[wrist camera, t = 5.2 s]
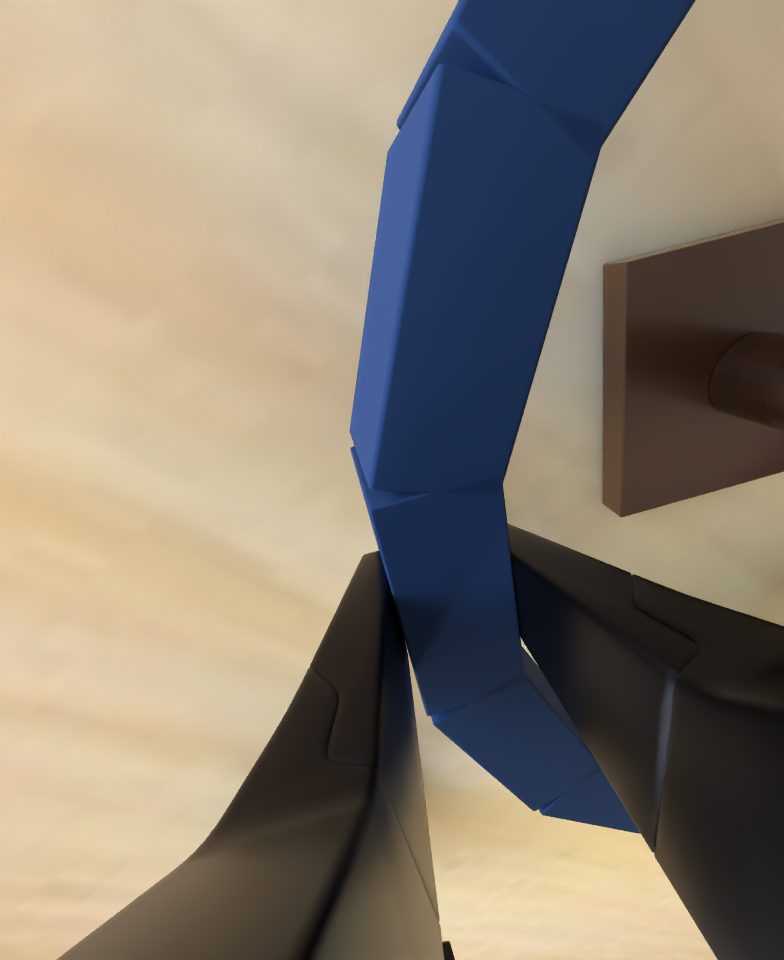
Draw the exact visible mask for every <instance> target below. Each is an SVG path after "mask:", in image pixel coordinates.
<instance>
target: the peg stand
mask: <svg viewBox="0 0 784 960" xmlns="http://www.w3.org/2000/svg"><path fill="white" fill-rule="evenodd" d="M780 472H784V219H780V220H776V221H772V222H768V223H764V224H760V225H756V226H752V227H748V228H744V229H740V230H736V231H732V232H728V233H724V234H720V235H716V236H712V237H709V238H705V239H701V240H697V241H693V242H689V243H685V244H681V245H677V246H673V247H669V248H665V249H661V250H657V251H653V252H649V253H645V254H641V255H637V256H634V257H630V258H626V259H622V260H618V261H614V262H610V263H606V264H604V266H603V504H604V505H605V506H607V507H608V508H609V509H611V510H612V511H613V512H615V513H616V514H617V515H618V516H620V517H625V516H628V515H632V514H635V513H639V512H642V511H646V510H649V509H653V508H657V507H660V506H664V505H667V504H671V503H674V502H678V501H681V500H685V499H688V498H692V497H695V496H699V495H703V494H706V493H710V492H713V491H717V490H720V489H724V488H727V487H731V486H734V485H738V484H741V483H745V482H748V481H752V480H756V479H759V478H763V477H766V476H770V475H773V474H777V473H780Z"/></svg>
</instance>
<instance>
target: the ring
mask: <svg viewBox="0 0 784 960" xmlns="http://www.w3.org/2000/svg"><path fill="white" fill-rule="evenodd" d="M694 2H695V0H459V1H458V3H457V5H456V7H455V9H454V11H453V13H452V15H451V17H450V19H449V21H448V23H447V25H446V27H445V29H444V31H443V32H442V34H441V36H440V38H439V40H438V42H437V44H436V46H435V48H434V50H433V52H432V54H431V56H430V58H429V60H428V62H427V64H426V66H425V68H424V69H423V71H422V73H421V75H420V77H419V79H418V81H417V83H416V85H415V87H414V89H413V91H412V93H411V95H410V97H409V99H408V101H407V103H406V104H405V106H404V108H403V110H402V112H401V114H400V116H399V118H398V120H397V126H398V128H399V129H400V131H399V133H398V135H397V137H396V138H395V140H394V142H393V144H392V145H391V147H390V149H389V151H388V154H387V161H386V169H385V176H384V183H383V191H382V198H381V205H380V213H379V220H378V227H377V235H376V242H375V249H374V257H373V264H372V271H371V279H370V286H369V293H368V301H367V308H366V315H365V323H364V330H363V337H362V345H361V352H360V359H359V367H358V374H357V381H356V389H355V396H354V403H353V411H352V418H351V425H350V433H351V436H352V439H353V442H354V445H355V446H353V447H351V453H352V456H353V460H354V463H355V467H356V471H357V474H358V478H359V481H360V485H361V488H362V492H363V495H364V499H365V502H366V506H367V509H368V513H369V516H370V520H371V523H372V527H373V530H374V534H375V537H376V541H377V544H378V548H379V551H380V554H381V557H382V561H383V564H384V567H385V571H386V574H387V578H388V581H389V585H390V588H391V592H392V595H393V599H394V602H395V606H396V610H397V613H398V617H399V620H400V624H401V627H402V631H403V634H404V638H405V642H406V646H407V649H408V653H409V656H410V659H411V663H412V666H413V670H414V673H415V677H416V680H417V684H418V687H419V690H420V694H421V697H422V701H423V704H424V708H425V711H426V714H427V716H431V717H432V721H433V724H434V725H435V726H436V727H437V728H438V729H439V730H440V731H441V732H442V733H444V734H445V735H446V736H447V737H448V738H449V739H451V740H452V741H453V742H454V743H455V744H456V745H458V746H459V747H460V748H461V749H462V750H463V751H464V752H466V753H467V754H468V755H469V756H470V757H471V758H473V759H474V760H475V761H476V762H477V763H478V764H480V765H481V766H482V767H483V768H484V769H485V770H486V771H488V772H489V773H490V774H491V775H492V776H493V777H495V778H496V779H497V780H498V781H499V782H500V783H502V784H503V785H504V786H505V787H506V788H507V789H509V790H510V791H511V792H512V793H513V794H514V795H515V796H517V797H518V798H519V799H520V800H521V801H522V802H524V803H525V804H526V805H527V806H528V807H529V808H531V809H532V810H533V811H536V810H538V809H539V810H540V813H541V814H542V815H545V816H550V817H555V818H561V819H566V820H571V821H576V822H582V823H587V824H592V825H597V826H602V827H608V828H613V829H618V830H623V831H629V832H634V833H639V834H641V833H640V831H639V830H638V828H637V826H636V825H635V823H634V821H633V820H632V818H631V817H630V815H629V813H628V812H627V810H626V808H625V807H624V805H623V803H622V802H621V800H620V799H619V797H618V795H617V794H616V792H615V790H614V789H613V787H612V785H611V784H610V782H609V781H608V779H607V777H606V776H605V774H604V772H603V771H602V769H601V768H600V766H599V764H598V763H597V761H596V759H595V758H594V756H593V754H592V753H591V751H590V750H589V748H588V746H587V745H586V743H585V741H584V740H583V738H582V736H581V735H580V733H579V732H578V730H577V728H576V727H575V725H574V723H573V722H572V720H571V718H570V717H569V715H568V714H567V712H566V710H565V709H564V707H563V705H562V704H561V702H560V701H559V699H558V697H557V696H556V694H555V692H554V691H553V689H552V687H551V686H550V684H549V683H548V681H547V679H546V678H545V676H544V674H543V673H542V671H541V669H540V668H539V667H538V665H537V664H536V663H535V662H534V661H533V659H532V658H531V657H530V656H529V654H528V653H527V652H526V651H525V649H524V648H523V647H522V646H521V639H520V631H519V622H518V613H517V604H516V596H515V587H514V578H513V570H512V561H511V552H510V543H509V534H508V526H507V517H506V508H505V499H504V491H503V481H504V477H505V474H506V471H507V467H508V464H509V460H510V457H511V454H512V450H513V447H514V443H515V440H516V436H517V433H518V430H519V426H520V423H521V419H522V416H523V413H524V409H525V406H526V402H527V399H528V395H529V392H530V389H531V385H532V382H533V378H534V375H535V371H536V368H537V365H538V361H539V358H540V354H541V351H542V348H543V344H544V341H545V337H546V334H547V330H548V327H549V324H550V320H551V317H552V313H553V310H554V307H555V303H556V300H557V296H558V293H559V289H560V286H561V283H562V279H563V276H564V272H565V269H566V266H567V262H568V259H569V255H570V252H571V248H572V245H573V242H574V238H575V235H576V231H577V228H578V225H579V221H580V218H581V214H582V211H583V207H584V204H585V201H586V197H587V194H588V190H589V187H590V184H591V180H592V177H593V173H594V170H595V166H596V163H597V160H598V156H599V153H600V149H601V147H602V145H603V143H604V142H605V140H606V139H607V137H608V136H609V134H610V133H611V131H612V129H613V128H614V126H615V125H616V123H617V122H618V120H619V119H620V117H621V115H622V114H623V112H624V111H625V109H626V108H627V106H628V105H629V103H630V101H631V100H632V98H633V97H634V95H635V94H636V92H637V91H638V89H639V87H640V86H641V84H642V83H643V81H644V80H645V78H646V77H647V75H648V73H649V72H650V70H651V69H652V67H653V66H654V64H655V63H656V61H657V59H658V58H659V56H660V55H661V53H662V52H663V50H664V49H665V47H666V45H667V44H668V42H669V41H670V39H671V38H672V36H673V35H674V33H675V31H676V30H677V28H678V27H679V25H680V24H681V22H682V21H683V19H684V17H685V16H686V14H687V13H688V11H689V10H690V8H691V7H692V5H693V3H694Z"/></svg>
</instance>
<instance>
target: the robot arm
mask: <svg viewBox="0 0 784 960" xmlns="http://www.w3.org/2000/svg"><path fill="white" fill-rule="evenodd" d="M507 526H508V534H509V543H510V552H511V561H512V570H513V578H514V587H515V596H516V604H517V613H518V622H519V631H520V637H521V638H522V640H523V642H524V643H525V645H526V647H527V648H528V650H529V651H530V653H531V655H532V656H533V658H534V660H535V661H536V663H537V665H538V666H539V668H540V669H541V671H542V673H543V674H544V676H545V678H546V679H547V681H548V683H549V684H550V686H551V687H552V689H553V691H554V692H555V694H556V696H557V697H558V699H559V701H560V702H561V704H562V705H563V707H564V709H565V710H566V712H567V714H568V715H569V717H570V718H571V720H572V722H573V723H574V725H575V727H576V728H577V730H578V732H579V733H580V735H581V736H582V738H583V740H584V741H585V743H586V745H587V746H588V748H589V750H590V751H591V753H592V754H593V756H594V758H595V759H596V761H597V763H598V764H599V766H600V768H601V769H602V771H603V772H604V774H605V776H606V777H607V779H608V781H609V782H610V784H611V785H612V787H613V789H614V790H615V792H616V794H617V795H618V797H619V799H620V800H621V802H622V803H623V805H624V807H625V808H626V810H627V812H628V813H629V815H630V817H631V818H632V820H633V821H634V823H635V825H636V826H637V828H638V830H639V831H640V833H641V835H642V836H643V838H644V839H645V841H646V843H647V844H648V846H649V848H650V849H651V851H652V852H654V853H655V854H654V855H655V858H656V859H657V861H658V863H659V864H660V866H661V868H662V869H663V871H664V873H665V874H666V876H667V877H668V879H669V881H670V882H671V884H672V886H673V887H674V889H675V891H676V892H677V894H678V895H679V897H680V899H681V900H682V902H683V904H684V905H685V907H686V909H687V910H688V912H689V913H690V915H691V917H692V918H693V920H694V922H695V923H696V925H697V927H698V928H699V930H700V931H701V933H702V935H703V936H704V938H705V940H706V941H707V943H708V945H709V946H710V948H711V949H712V951H713V953H714V954H715V956H716V958H717V959H718V960H784V626H781V625H778V624H775V623H772V622H769V621H766V620H762V619H759V618H756V617H753V616H750V615H747V614H744V613H741V612H738V611H735V610H731V609H728V608H725V607H722V606H719V605H716V604H713V603H710V602H707V601H704V600H701V599H698V598H696V597H693V596H690V595H687V594H684V593H681V592H678V591H676V590H673V589H671V588H668V587H665V586H663V585H660V584H657V583H655V582H652V581H650V580H647V579H645V578H642V577H640V576H637V575H632V577H631V573H629V572H627V571H624V570H622V569H620V568H617V567H615V566H612V565H610V564H607V563H605V562H602V561H600V560H597V559H595V558H592V557H590V556H587V555H585V554H582V553H580V552H577V551H575V550H572V549H570V548H567V547H565V546H562V545H560V544H557V543H555V542H552V541H550V540H547V539H545V538H543V537H540V536H538V535H535V534H533V533H530V532H528V531H525V530H523V529H520V528H518V527H515V526H513V525H510V524H508V523H507ZM57 960H455V958H454V955H453V951H452V948H451V944H450V942H449V941H444V942H442V937H441V928H440V924H439V912H438V904H437V895H436V887H435V878H434V870H433V862H432V853H431V845H430V837H429V828H428V820H427V811H426V803H425V795H424V786H423V778H422V769H421V761H420V753H419V744H418V736H417V727H416V719H415V711H414V702H413V694H412V685H411V677H410V669H409V660H408V653H407V647H406V643H405V638H404V634H403V631H402V627H401V624H400V620H399V617H398V613H397V610H396V606H395V602H394V599H393V595H392V592H391V588H390V585H389V581H388V578H387V574H386V571H385V567H384V564H383V561H382V557H381V554H380V551H376V552H372V553H368V554H365V555H364V556H363V557H362V559H361V561H360V563H359V565H358V567H357V569H356V571H355V573H354V575H353V577H352V579H351V582H350V584H349V586H348V588H347V590H346V592H345V594H344V596H343V598H342V600H341V602H340V604H339V606H338V609H337V611H336V613H335V615H334V617H333V619H332V621H331V623H330V625H329V627H328V629H327V631H326V633H325V636H324V638H323V640H322V642H321V644H320V646H319V648H318V650H317V652H316V654H315V656H314V658H313V661H312V663H311V665H310V668H309V669H308V670H307V673H306V675H305V677H304V679H303V681H302V683H301V685H300V687H299V689H298V691H297V693H296V695H295V697H294V699H293V700H292V702H291V704H290V706H289V708H288V710H287V712H286V713H285V715H284V717H283V719H282V720H281V722H280V724H279V725H278V727H277V729H276V730H275V732H274V734H273V736H272V737H271V739H270V741H269V742H268V744H267V745H266V747H265V749H264V750H263V752H262V754H261V755H260V757H259V758H258V760H257V762H256V763H255V765H254V766H253V768H252V770H251V771H250V773H249V775H248V776H247V778H246V779H245V781H244V783H243V784H242V786H241V787H240V789H239V791H238V792H237V794H236V796H235V797H234V799H233V800H232V802H231V804H230V805H229V807H228V808H227V810H226V812H225V813H224V815H223V816H222V818H221V819H220V821H219V822H218V824H217V825H216V827H215V828H214V829H213V831H212V832H211V833H210V835H209V836H208V837H207V838H206V840H205V841H204V842H203V843H202V844H201V845H200V847H199V848H198V849H197V850H196V851H195V852H194V853H193V854H192V855H191V856H190V857H189V858H188V859H187V860H186V861H184V862H183V863H182V864H181V865H180V866H178V867H177V868H176V869H175V870H173V871H172V872H171V873H169V874H168V875H167V876H165V877H164V878H163V879H162V880H160V881H159V882H158V883H156V884H155V885H154V886H152V887H151V888H150V889H148V890H147V891H146V892H144V893H143V894H142V895H141V896H139V897H138V898H137V899H135V900H134V901H133V902H131V903H130V904H129V905H127V906H126V907H125V908H124V909H122V910H121V911H120V912H118V913H117V914H116V915H114V916H113V917H112V918H110V919H109V920H108V921H106V922H105V923H104V924H103V925H101V926H100V927H99V928H97V929H96V930H95V931H93V932H92V933H91V934H89V935H88V936H87V937H86V938H84V939H83V940H82V941H80V942H79V943H78V944H76V945H75V946H74V947H72V948H71V949H70V950H68V951H67V952H66V953H65V954H63V955H62V956H61V957H59V958H58V959H57Z"/></svg>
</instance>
